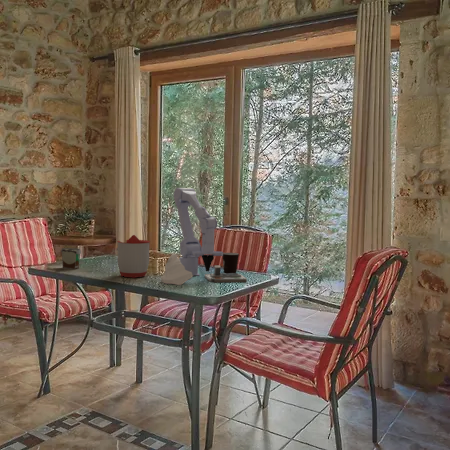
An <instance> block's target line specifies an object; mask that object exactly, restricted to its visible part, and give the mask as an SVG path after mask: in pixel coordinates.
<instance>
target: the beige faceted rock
mask: <svg viewBox="0 0 450 450" xmlns="http://www.w3.org/2000/svg"><path fill="white" fill-rule="evenodd" d="M164 265H165V272H164V274H163V275H162V276H161V277H160V281H161V282H162V283H163V284H168V285H169V284H170V285H177V286H182V285H183V284H184V283H186V282H187V281H189V280H190V279H191V278H193V275H192V272H189V271H187V270H185V267H184V266H183V265H182V264H181V262H180V260H179V258H178V254H176V253H173V252H172V253H171V254H170V256H169V257H168V259H167V262H166V263H165V264H164Z"/></svg>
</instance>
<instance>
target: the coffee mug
mask: <svg viewBox="0 0 450 450" xmlns="http://www.w3.org/2000/svg"><path fill="white" fill-rule="evenodd" d="M239 257H240V256H239V253H237V252H223V256H222V264H223V265H222V266H223V273H237V271H238V262H239Z"/></svg>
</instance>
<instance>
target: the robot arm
mask: <svg viewBox="0 0 450 450" xmlns="http://www.w3.org/2000/svg"><path fill="white" fill-rule="evenodd" d="M173 198H174V203H175V204H174V205H175V206H176V210H177V214H178V219H179V223H180V228H181V234H182V237H183V239H181V241H180V243H179V246H180V248H179V249H180V250H179V251H180V255H181V256H180V257H179V258H178V259H179V260H180V262H181V264H182V265H183V266H184V267H185V270H187V271H189V272H192V275H193V276H194V277H195V276H196V277H197V276H200V273H199V269H198V268H199V258H200V257H201V259H202V261H203V263H204V268H205V269H204V270H205V272H210V269H211V265H212V263H213V261H214V259H215V257H223V253H224V251H215V229H217V228H218V227H217V226H218V221H217V218H216V217H215V216H212V215H210V212H208V210H207V208H206V207H205V206H202V205H201V203H200V201H199V200H198V197H197V192H196V190H195V189H194V188H193V187H176V188H175V189H174V193H173ZM190 206H191V207H192V209H194V214H195V217H196V218H197V219H198V221H199V226H200V230H201V234H202V237H201V239H202V240H201V242H202V243H200V240H199V239H198V238H197V237H195V235H194V230H193V226H192V222H191V221H192V220H191V216H190V213H189V209H188V208H189V207H190Z"/></svg>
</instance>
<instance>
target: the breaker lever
mask: <svg viewBox="0 0 450 450" xmlns="http://www.w3.org/2000/svg"><path fill="white" fill-rule="evenodd" d="M213 267H214V269H213V270H214V273H212V274H213V275H221V274H220V273H221V268H222V267H221V265H214V266H213Z"/></svg>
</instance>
